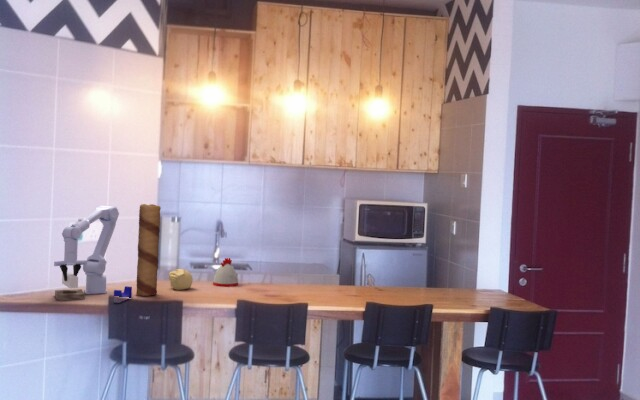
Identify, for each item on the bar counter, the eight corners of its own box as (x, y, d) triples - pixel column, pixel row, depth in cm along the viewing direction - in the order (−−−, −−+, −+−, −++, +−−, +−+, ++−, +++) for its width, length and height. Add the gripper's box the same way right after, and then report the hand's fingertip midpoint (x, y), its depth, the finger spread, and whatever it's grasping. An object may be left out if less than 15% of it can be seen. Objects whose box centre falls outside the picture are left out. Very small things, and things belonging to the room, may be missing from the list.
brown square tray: (81, 294, 315) (81, 289, 315) (84, 299, 304) (84, 294, 304) (55, 295, 310) (55, 290, 310) (57, 300, 298) (57, 295, 298)
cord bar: (69, 283, 313) (69, 272, 313) (77, 287, 302) (78, 277, 302) (62, 283, 311) (62, 273, 311) (70, 288, 300) (70, 277, 300)
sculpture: (165, 288, 342) (165, 267, 341) (185, 286, 350) (186, 266, 349) (175, 291, 333) (176, 270, 333) (196, 289, 341) (196, 269, 341)
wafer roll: (149, 291, 329) (152, 203, 328) (161, 295, 322) (164, 205, 321) (131, 294, 321) (134, 204, 320) (143, 297, 314) (146, 205, 313)
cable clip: (122, 298, 311) (123, 286, 311) (131, 299, 310) (131, 286, 310) (110, 303, 299) (110, 290, 299) (119, 303, 298) (119, 290, 298)
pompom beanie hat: (243, 284, 363) (244, 258, 362) (226, 287, 351) (227, 260, 350) (224, 281, 370) (225, 255, 370) (207, 284, 358) (208, 257, 358)
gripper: (84, 250, 314) (83, 278, 314) (52, 251, 305) (51, 280, 305) (88, 252, 308) (87, 280, 308) (56, 253, 299) (55, 282, 300)
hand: (70, 280), depth 306 cm, fingers closed on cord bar, 3 cm apart
